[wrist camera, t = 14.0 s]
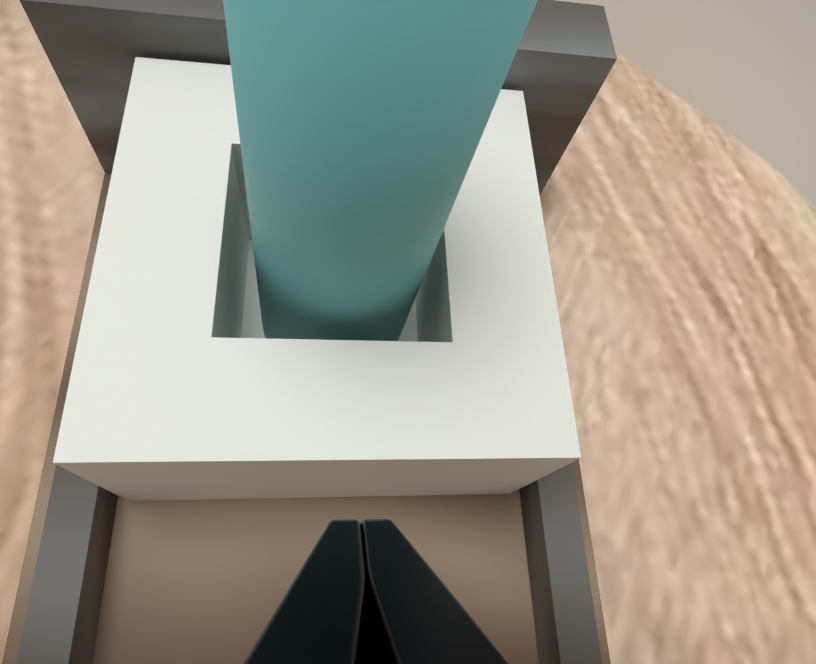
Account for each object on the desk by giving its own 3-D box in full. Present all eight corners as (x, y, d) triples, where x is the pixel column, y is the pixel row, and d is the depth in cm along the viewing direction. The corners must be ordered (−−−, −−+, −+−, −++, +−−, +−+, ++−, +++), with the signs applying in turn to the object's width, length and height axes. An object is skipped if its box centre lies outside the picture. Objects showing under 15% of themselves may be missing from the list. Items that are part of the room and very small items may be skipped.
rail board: (625, 830, 14) (855, 1004, 8) (-35, 903, 12) (-384, 1214, 6) (525, 164, 22) (603, 6, 16) (120, 136, 20) (38, -58, 14)
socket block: (510, 493, 16) (581, 457, 12) (129, 501, 15) (52, 462, 10) (478, 198, 20) (522, 91, 16) (176, 180, 19) (135, 57, 14)
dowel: (419, 361, 17) (702, -160, 5) (282, 399, 16) (246, -161, 4) (376, 246, 18) (524, -379, 6) (246, 272, 17) (143, -426, 5)
